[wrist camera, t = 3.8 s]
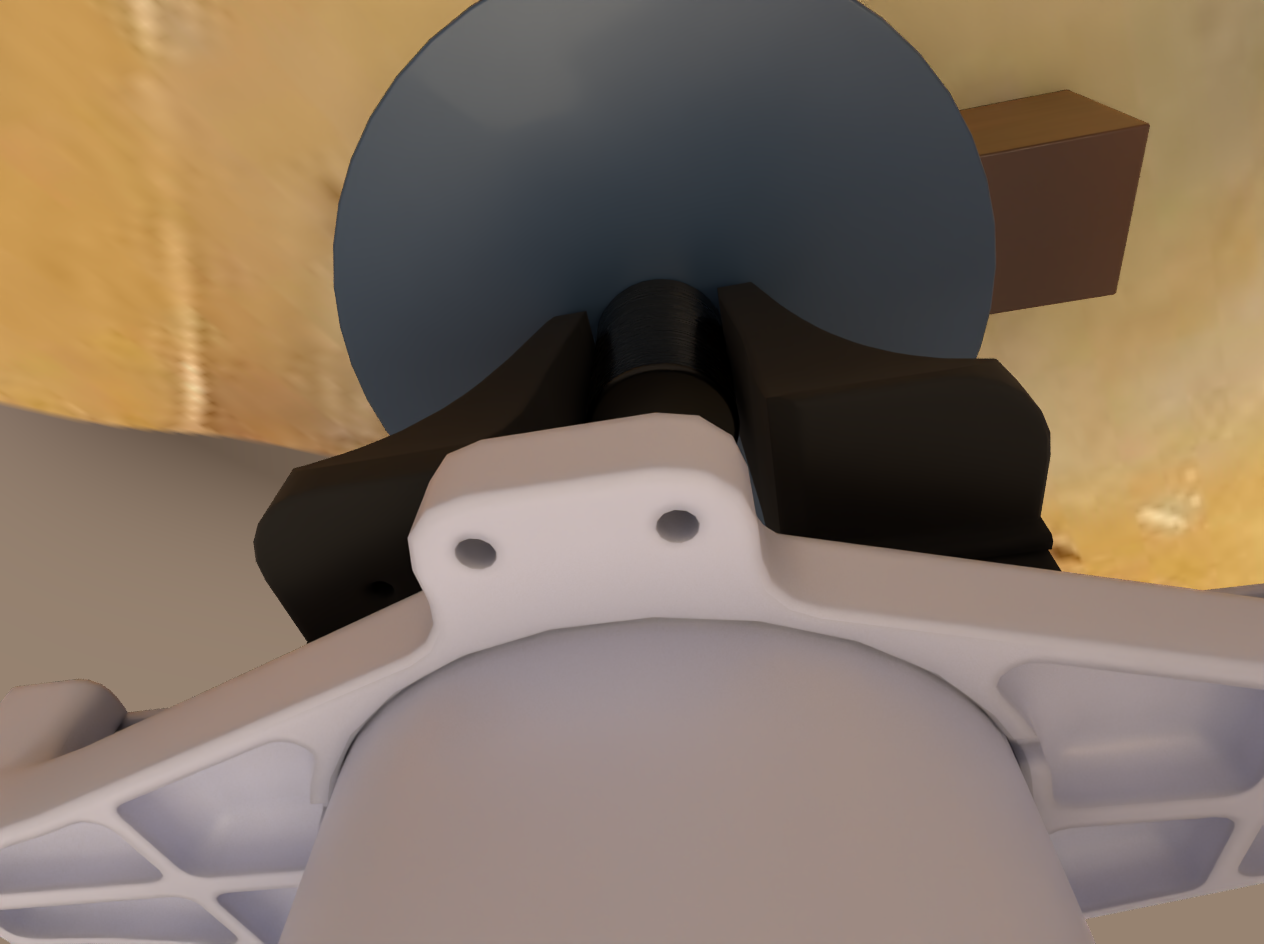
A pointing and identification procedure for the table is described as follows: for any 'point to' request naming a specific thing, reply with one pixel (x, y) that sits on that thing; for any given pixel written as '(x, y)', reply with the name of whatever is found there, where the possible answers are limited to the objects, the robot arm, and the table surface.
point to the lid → (655, 198)
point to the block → (1057, 195)
